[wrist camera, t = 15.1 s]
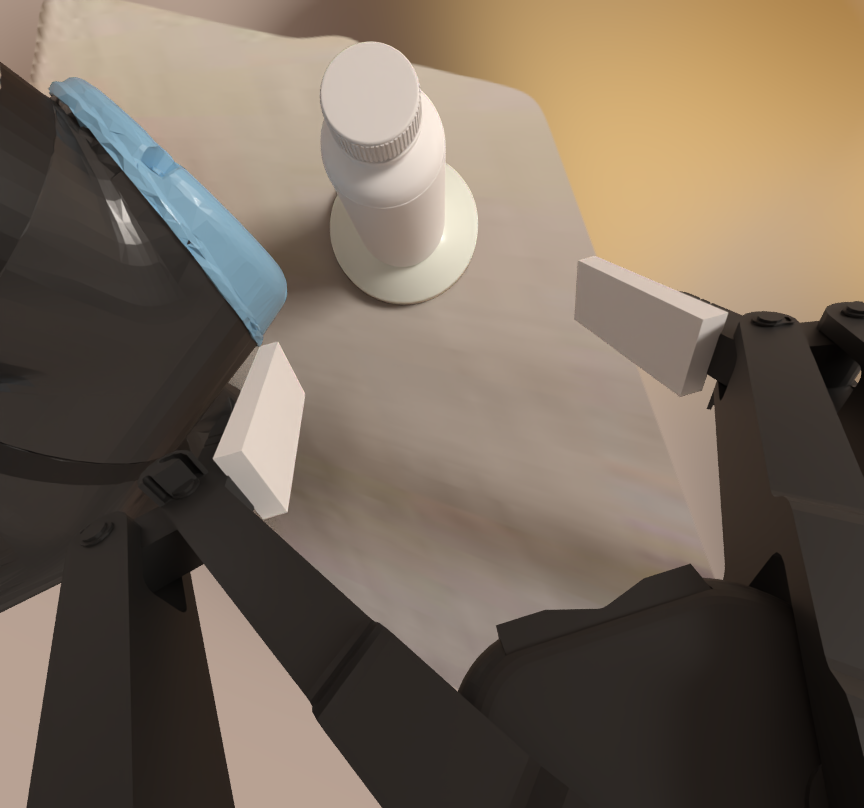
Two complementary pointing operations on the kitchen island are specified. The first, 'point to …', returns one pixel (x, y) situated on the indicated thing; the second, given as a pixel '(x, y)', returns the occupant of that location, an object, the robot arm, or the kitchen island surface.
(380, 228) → the pill bottle
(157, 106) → the kitchen island surface
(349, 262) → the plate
